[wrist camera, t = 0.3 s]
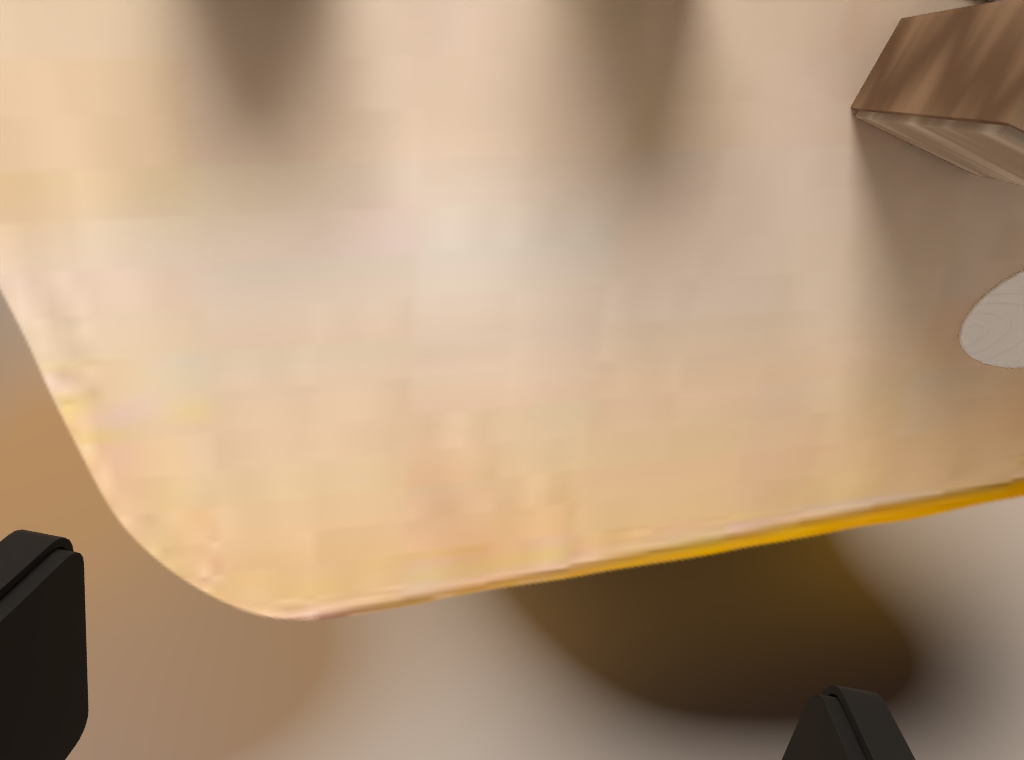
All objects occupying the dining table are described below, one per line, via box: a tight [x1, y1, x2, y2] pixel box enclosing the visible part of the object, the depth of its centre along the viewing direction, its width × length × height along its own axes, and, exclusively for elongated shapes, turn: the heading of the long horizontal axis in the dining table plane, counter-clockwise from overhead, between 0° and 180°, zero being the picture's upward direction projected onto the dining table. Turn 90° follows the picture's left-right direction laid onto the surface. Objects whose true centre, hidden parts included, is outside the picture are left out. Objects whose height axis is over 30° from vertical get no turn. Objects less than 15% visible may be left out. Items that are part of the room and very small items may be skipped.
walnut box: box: [851, 0, 1024, 186], centre depth 28 cm, size 4×7×13 cm, turn 67°
